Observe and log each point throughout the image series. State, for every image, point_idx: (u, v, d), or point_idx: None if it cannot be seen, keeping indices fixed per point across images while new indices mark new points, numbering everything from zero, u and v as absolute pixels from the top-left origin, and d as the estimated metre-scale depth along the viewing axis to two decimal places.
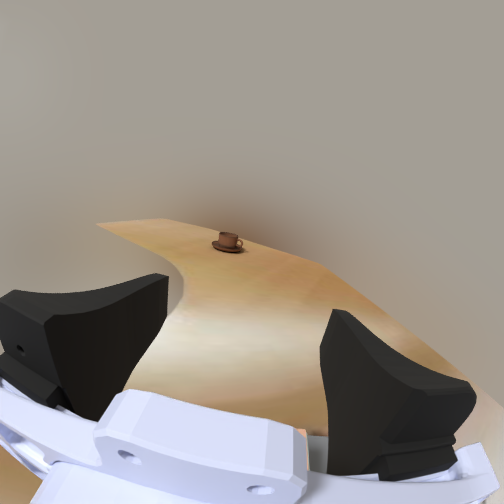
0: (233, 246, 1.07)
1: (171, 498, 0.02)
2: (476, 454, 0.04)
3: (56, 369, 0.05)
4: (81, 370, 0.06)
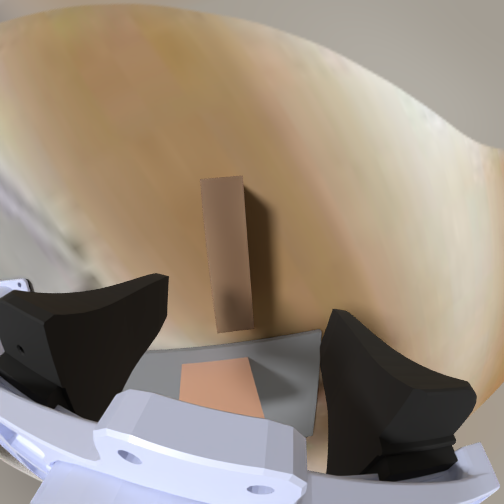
0: None
1: (171, 498, 0.02)
2: (476, 454, 0.04)
3: (55, 368, 0.05)
4: (81, 369, 0.06)
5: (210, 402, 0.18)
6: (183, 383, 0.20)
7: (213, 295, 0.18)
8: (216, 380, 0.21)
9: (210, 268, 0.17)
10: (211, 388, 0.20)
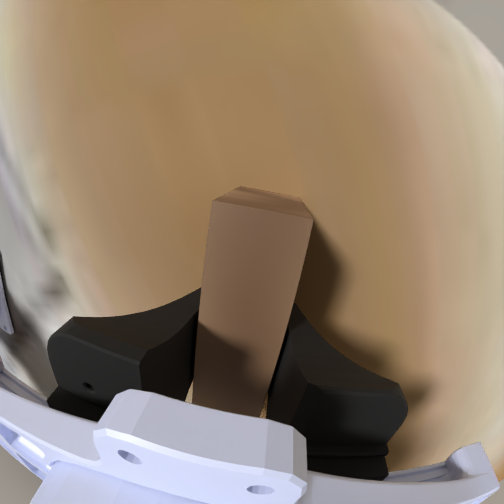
0: None
1: (171, 498, 0.02)
2: (476, 454, 0.04)
3: None
4: None
5: None
6: None
7: (194, 403, 0.09)
8: None
9: (196, 370, 0.08)
10: None
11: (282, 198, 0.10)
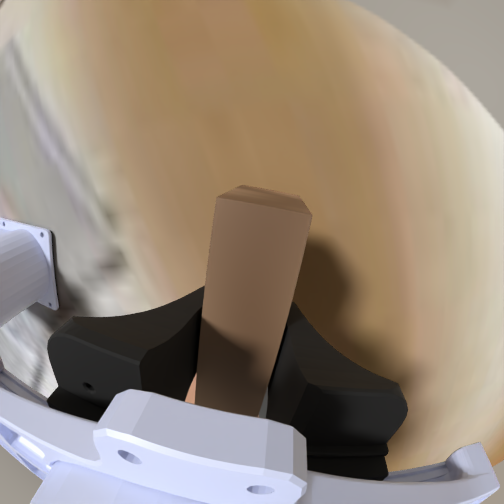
0: None
1: (171, 498, 0.02)
2: (476, 454, 0.04)
3: None
4: None
5: None
6: None
7: (197, 395, 0.09)
8: None
9: (200, 361, 0.09)
10: None
11: (282, 196, 0.10)
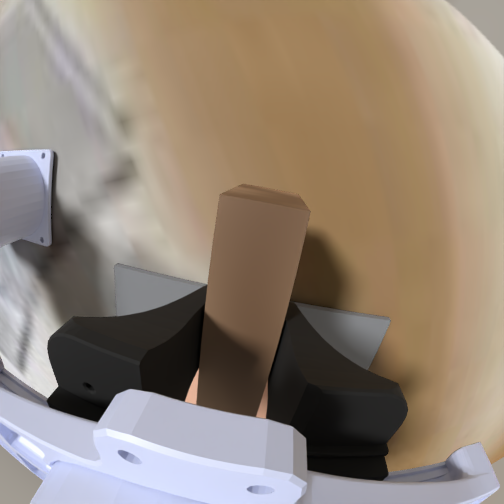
0: None
1: (171, 498, 0.02)
2: (476, 454, 0.04)
3: None
4: None
5: None
6: None
7: (199, 387, 0.10)
8: None
9: (202, 353, 0.09)
10: None
11: (282, 194, 0.11)
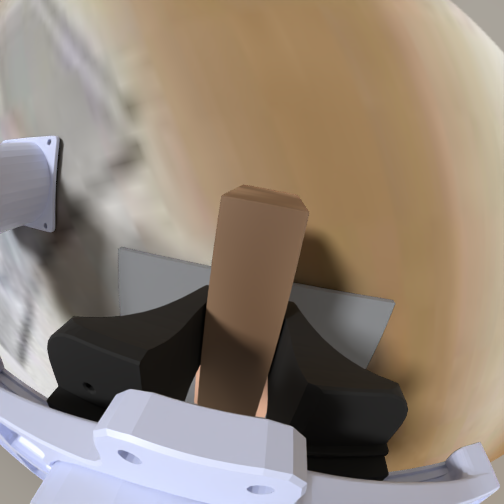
0: None
1: (171, 498, 0.02)
2: (476, 454, 0.04)
3: None
4: None
5: None
6: None
7: (200, 384, 0.10)
8: None
9: (204, 351, 0.09)
10: None
11: (282, 195, 0.11)
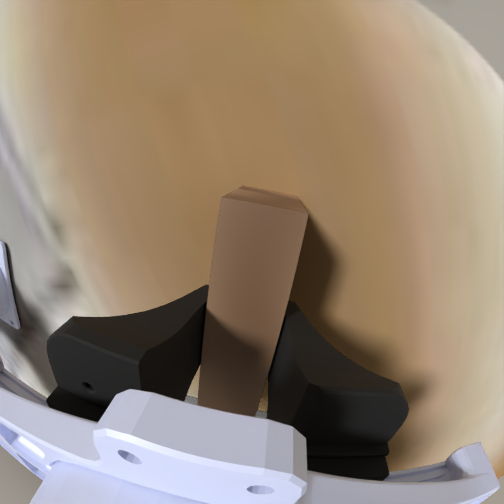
0: None
1: (171, 498, 0.02)
2: (476, 454, 0.04)
3: None
4: None
5: None
6: None
7: (200, 384, 0.10)
8: None
9: (204, 351, 0.09)
10: None
11: (281, 196, 0.11)
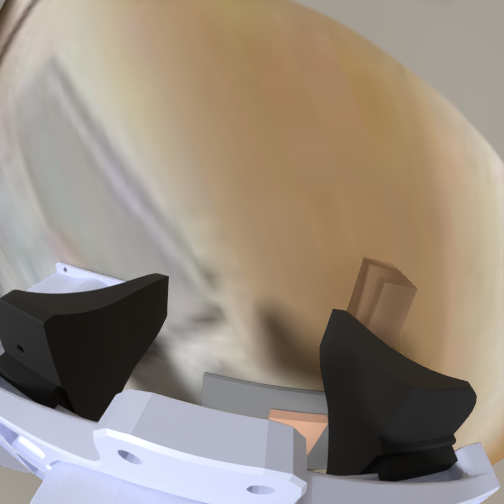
0: None
1: (171, 498, 0.02)
2: (476, 454, 0.04)
3: (56, 369, 0.05)
4: (81, 370, 0.06)
5: None
6: None
7: None
8: None
9: None
10: None
11: (390, 268, 0.18)
